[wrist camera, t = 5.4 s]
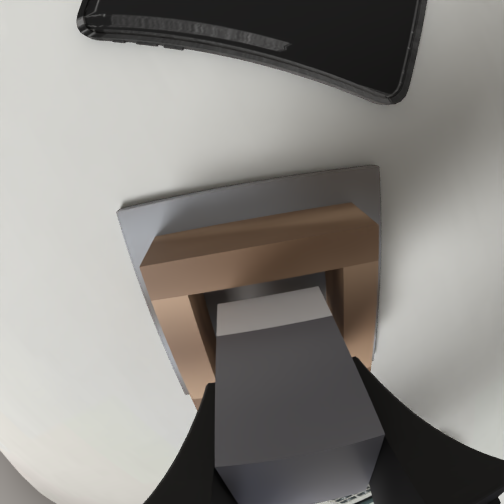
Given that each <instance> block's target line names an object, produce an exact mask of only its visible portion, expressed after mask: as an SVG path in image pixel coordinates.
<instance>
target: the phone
mask: <svg viewBox="0 0 504 504" xmlns="http://www.w3.org/2000/svg"><path fill="white" fill-rule="evenodd" d="M426 4H427V0H82V3H81V6H80V9H79V12H78V15H77V27H78V29H79V31H80V32H81V33H82V34H84V35H85V36H87V37H89V38H91V39H95V40H102V41H113V42H119V43H125V42H133V43H136V44H139V45H149V46H158V45H162V46H163V47H164V48H170V49H177V50H183V49H189V50H195V51H201V52H207V53H212V54H217V55H222V56H227V57H231V58H236V59H240V60H244V61H249V62H253V63H257V64H260V65H264V66H268V67H272V68H275V69H279V70H282V71H286V72H289V73H293V74H296V75H299V76H302V77H305V78H308V79H311V80H314V81H317V82H320V83H323V84H326V85H329V86H332V87H335V88H337V89H340V90H343V91H345V92H348V93H351V94H353V95H356V96H358V97H361V98H363V99H366V100H368V101H370V102H373V103H376V104H380V105H390V104H396V103H398V102H400V101H402V99H403V98H404V97H405V96H406V94H407V92H408V89H409V85H410V81H411V77H412V73H413V69H414V64H415V60H416V55H417V51H418V46H419V41H420V37H421V32H422V26H423V21H424V16H425V10H426Z"/></svg>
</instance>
